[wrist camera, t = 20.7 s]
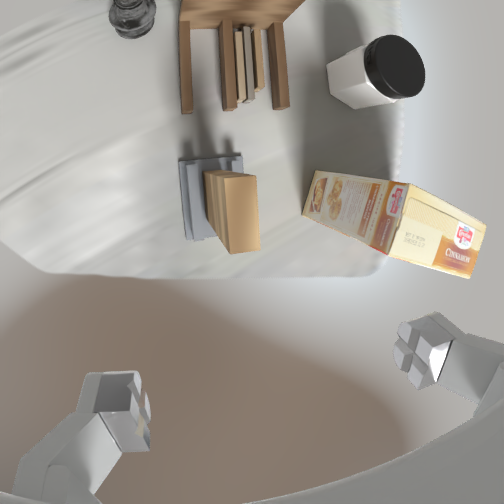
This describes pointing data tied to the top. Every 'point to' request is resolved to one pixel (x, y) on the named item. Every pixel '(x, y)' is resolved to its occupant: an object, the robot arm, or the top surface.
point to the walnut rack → (225, 20)
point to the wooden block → (232, 209)
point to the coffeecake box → (397, 220)
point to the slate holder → (201, 192)
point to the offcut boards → (248, 64)
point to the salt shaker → (132, 17)
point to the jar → (377, 73)
